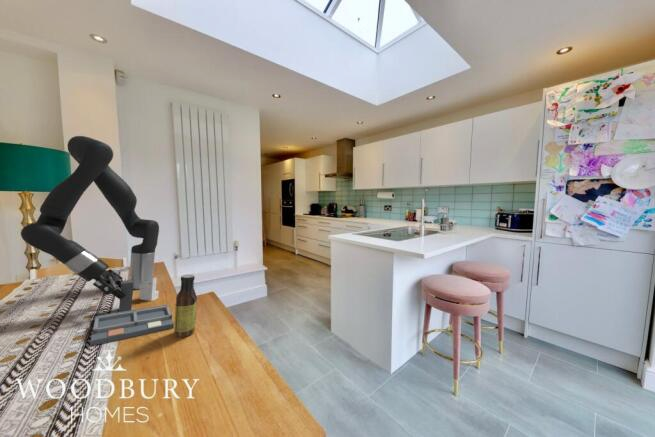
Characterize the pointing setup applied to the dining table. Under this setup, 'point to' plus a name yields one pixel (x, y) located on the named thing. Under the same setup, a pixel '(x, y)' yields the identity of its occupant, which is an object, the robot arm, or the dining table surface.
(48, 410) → the dining table surface
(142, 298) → the white wedge bracket
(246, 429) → the dining table surface
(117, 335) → the grey tray
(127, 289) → the plug
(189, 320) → the sauce bottle
